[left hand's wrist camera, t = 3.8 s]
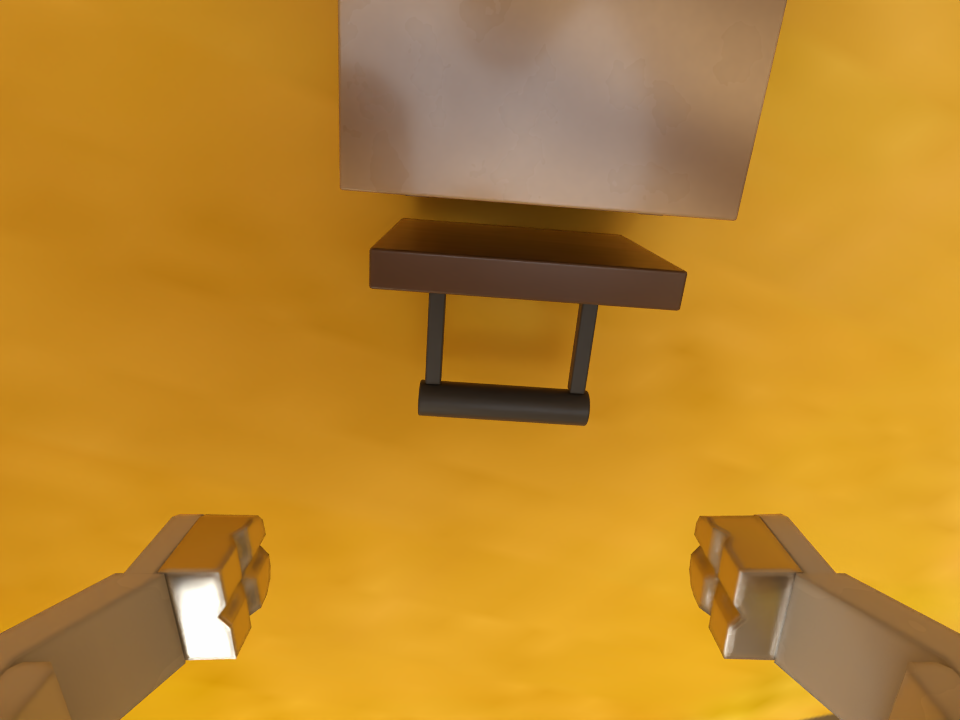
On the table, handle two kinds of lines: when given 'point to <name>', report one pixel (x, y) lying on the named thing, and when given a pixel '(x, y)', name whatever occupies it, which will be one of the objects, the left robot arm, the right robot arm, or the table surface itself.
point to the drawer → (518, 275)
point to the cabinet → (556, 100)
